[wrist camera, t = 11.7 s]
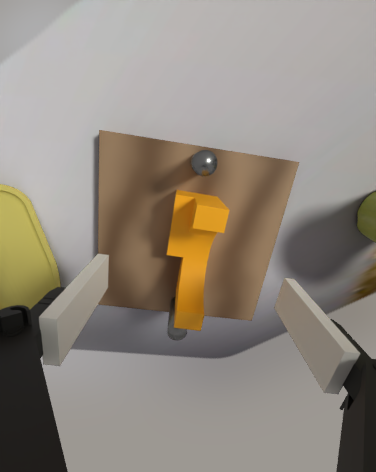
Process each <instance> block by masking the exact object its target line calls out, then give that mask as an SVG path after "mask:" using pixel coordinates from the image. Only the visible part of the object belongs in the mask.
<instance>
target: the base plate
mask: <svg viewBox="0 0 376 472" xmlns="http://www.w3.org/2000/svg"><path fill="white" fill-rule="evenodd" d="M201 150H209V151H211V152H213V153H214V154H215V156H216V158H217V162H218V164H217V168H216V170H215V172H214V173H213V174H211V175H209V176H205V177H204V176H200V175H198V174H197V173H196V172H195V171H194V170H193V169H192V168H191V165H190V160H191V157H192V156H193V155H194V154H195V153H197V152H199V151H201ZM298 165H299V162H294V161H288V160H282V159H276V158H269V157H263V156H257V155H251V154H245V153H238V152H232V151H226V150H220V149H214V148H208V147H201V146H195V145H189V144H183V143H177V142H170V141H164V140H158V139H152V138H146V137H139V136H133V135H127V134H121V133H115V132H109V131H102V130H99V210H98V254H104V255H109V266H108V288H107V290H106V292H105V293H104V295H103V297H102V298H101V300H100V301H99V303H98V304H99V305H109V306H118V307H127V308H137V309H146V310H156V311H165V312H169V310H170V301H171V299H172V298H173V297H176V286H177V281H178V275H179V269H180V264H181V258H182V257H177V256H171V255H167V250H168V243H169V237H170V230H171V223H172V217H173V210H174V204H175V197H176V192H177V190H182V191H187V192H193V193H199V194H205V195H211V196H216V197H218V198H219V199H220V200H221V201H222V202H223V203H224V204H225V206H226V207H227V208H228V209H229V215H228V219H227V223H226V227H225V231H224V233H220V232H218V233H217V234H216V236H215V238H214V240H213V242H212V245H211V249H210V252H209V256H208V261H207V267H206V273H205V282H204V316H212V317H222V318H231V319H241V320H250V321H252V318H253V315H254V311H255V308H256V305H257V301H258V298H259V295H260V291H261V288H262V285H263V281H264V278H265V275H266V271H267V268H268V265H269V261H270V258H271V255H272V251H273V248H274V245H275V241H276V238H277V235H278V231H279V228H280V225H281V221H282V218H283V215H284V211H285V208H286V205H287V201H288V198H289V195H290V191H291V188H292V185H293V181H294V178H295V175H296V171H297V168H298Z"/></svg>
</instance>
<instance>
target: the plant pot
mask: <svg viewBox="0 0 376 472" xmlns="http://www.w3.org/2000/svg"><path fill="white" fill-rule="evenodd" d="M357 215H358V222H357V227H358V229H359V231H360V232H361V233H362V234H363V235H365V236H366V237H368V238H369V239H371V240H372V241H374V242H376V191H375V192H373V193H372V194H371V195H369V196H368V197H367V198H366V199H365V200H364V201H363V203H362V204H361V206H360V208H359V210H358V212H357Z"/></svg>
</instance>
